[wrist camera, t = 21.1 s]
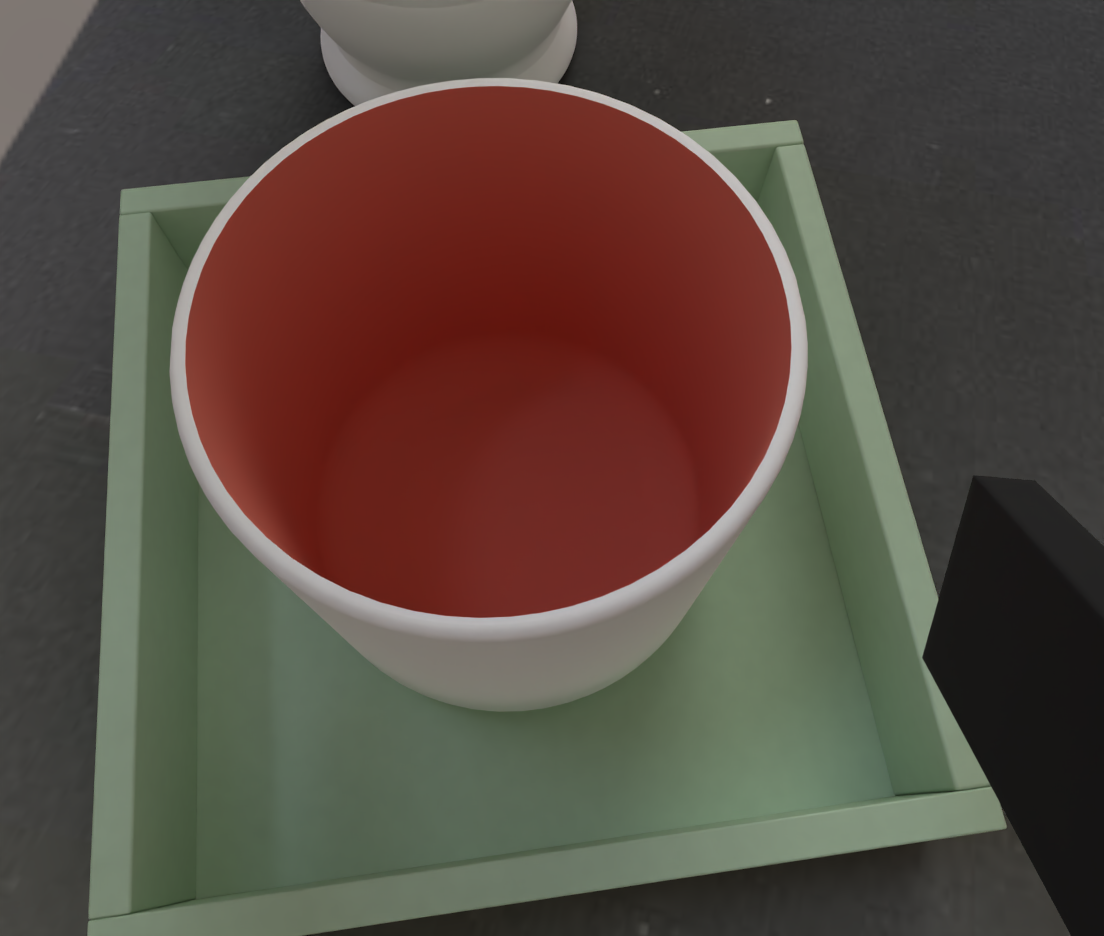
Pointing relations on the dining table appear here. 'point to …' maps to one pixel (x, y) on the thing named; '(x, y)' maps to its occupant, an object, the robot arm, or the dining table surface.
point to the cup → (491, 381)
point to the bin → (517, 736)
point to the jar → (441, 42)
